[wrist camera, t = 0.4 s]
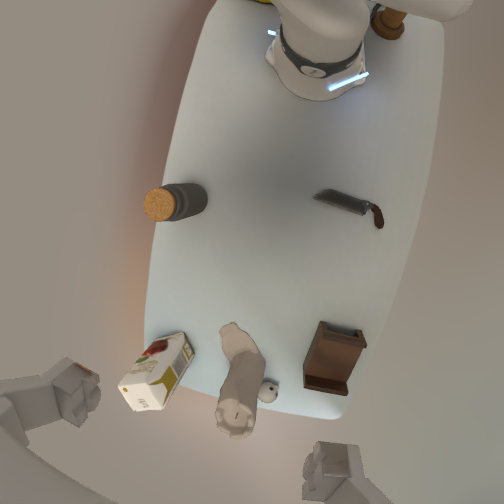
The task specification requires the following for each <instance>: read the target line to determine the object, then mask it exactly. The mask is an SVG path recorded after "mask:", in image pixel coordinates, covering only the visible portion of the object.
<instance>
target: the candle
mask: <svg viewBox="0 0 504 504" xmlns="http://www.w3.org/2000/svg"><path fill="white" fill-rule="evenodd" d="M219 333H220V335H221V338H222V349H223V352H224V354H225V355H226V357H227V359H228V360H229V362H230V369H229V373H228V376H227V378H226V380H225V381H224V384H223V385H222V387H221V389H220V397H219V400H218V406H217V409H216V411H215V416H216V420H217V428H218V429H219V430H220V431H222V432H224V433H226V434H228V435H230V438H231V439H244V438H246V437H248V436H249V435H250V434H251V433H252V431H253V428H254V425H255V420H256V411H257V398H258V393H259V389H260V386H261V383H262V380H263V376H264V370H265V360H264V358H263V357H262V355H261V354H260V352H259V350H258V348H257V346H256V345H255V343H254V341H253V340H252V339H251V337H250V336H249V335H248V334H247V333H246V332H244V331H242V330H239V328H238V326H237V325H236V324H235V323H230V324H229V325H226V326H224V327H222V328H221V329H220V331H219Z"/></svg>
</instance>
